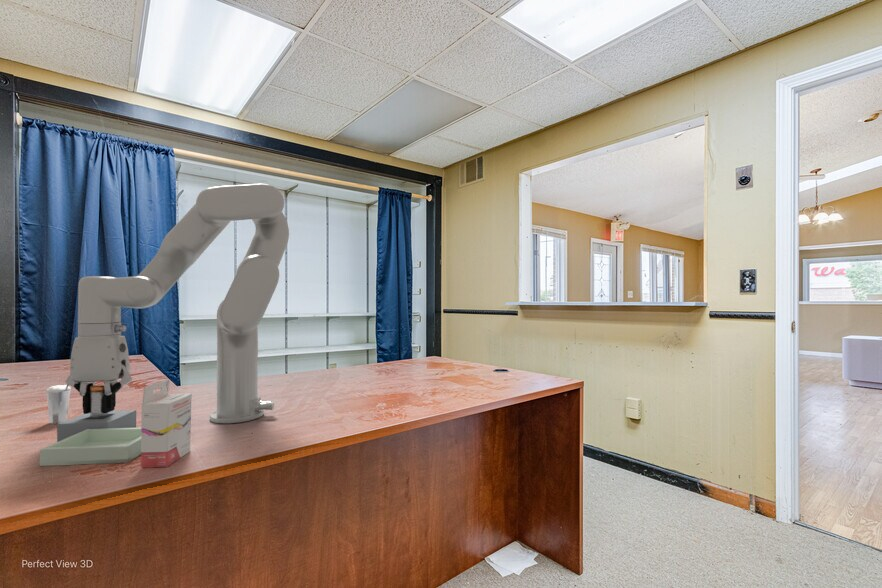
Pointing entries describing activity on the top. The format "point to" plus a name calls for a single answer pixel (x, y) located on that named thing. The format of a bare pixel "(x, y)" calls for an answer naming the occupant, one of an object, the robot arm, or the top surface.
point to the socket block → (96, 423)
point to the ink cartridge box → (164, 426)
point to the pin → (97, 402)
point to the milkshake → (58, 403)
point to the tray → (94, 447)
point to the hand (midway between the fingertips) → (99, 411)
